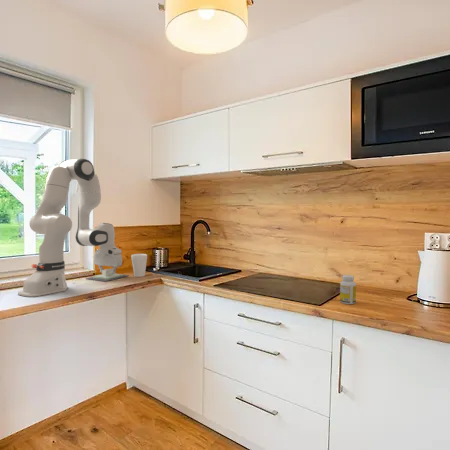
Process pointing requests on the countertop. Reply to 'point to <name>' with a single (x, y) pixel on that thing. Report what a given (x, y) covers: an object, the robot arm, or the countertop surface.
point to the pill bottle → (348, 290)
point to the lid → (107, 274)
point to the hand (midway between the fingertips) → (107, 273)
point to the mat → (106, 279)
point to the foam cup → (139, 264)
